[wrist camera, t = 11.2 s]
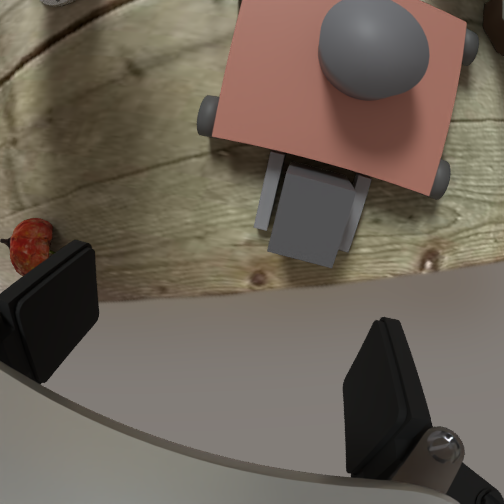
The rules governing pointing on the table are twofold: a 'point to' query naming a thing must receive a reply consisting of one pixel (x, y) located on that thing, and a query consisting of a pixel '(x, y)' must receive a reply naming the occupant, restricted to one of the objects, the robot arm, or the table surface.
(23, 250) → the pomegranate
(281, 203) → the dark grey rounded cube
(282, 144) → the toy tractor cart
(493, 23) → the beer bottle
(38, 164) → the table surface
